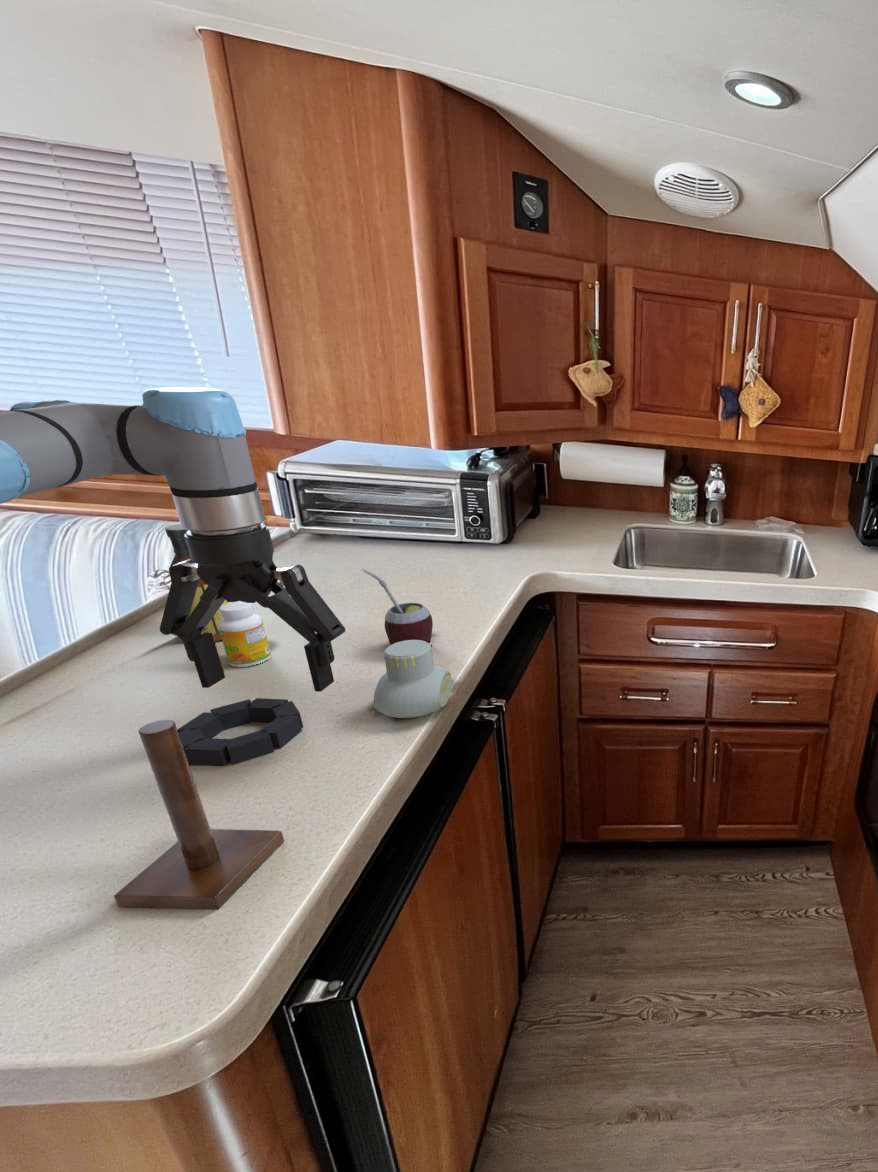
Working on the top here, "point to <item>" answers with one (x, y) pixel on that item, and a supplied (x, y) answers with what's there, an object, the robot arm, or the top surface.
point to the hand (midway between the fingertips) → (269, 684)
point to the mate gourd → (406, 619)
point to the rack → (192, 839)
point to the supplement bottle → (243, 635)
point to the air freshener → (411, 681)
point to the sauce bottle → (183, 554)
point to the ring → (241, 748)
